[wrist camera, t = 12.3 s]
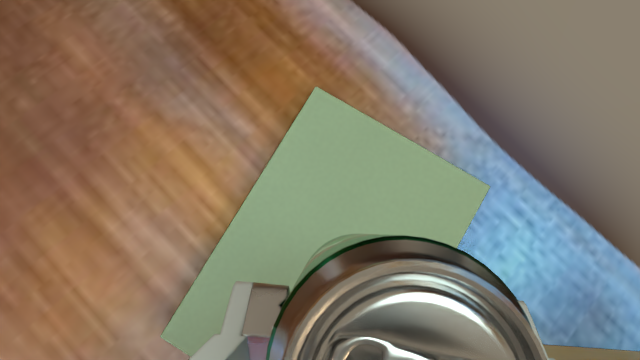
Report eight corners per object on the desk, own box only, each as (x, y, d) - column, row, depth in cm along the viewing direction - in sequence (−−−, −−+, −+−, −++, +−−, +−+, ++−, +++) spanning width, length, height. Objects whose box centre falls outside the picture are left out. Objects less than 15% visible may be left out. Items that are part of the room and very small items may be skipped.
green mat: (164, 334, 27) (159, 337, 27) (316, 89, 29) (315, 85, 29) (342, 448, 26) (342, 455, 26) (486, 187, 28) (490, 186, 28)
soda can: (391, 366, 18) (529, 643, 6) (283, 324, 18) (203, 506, 6) (427, 256, 18) (620, 301, 6) (322, 217, 19) (320, 191, 7)
